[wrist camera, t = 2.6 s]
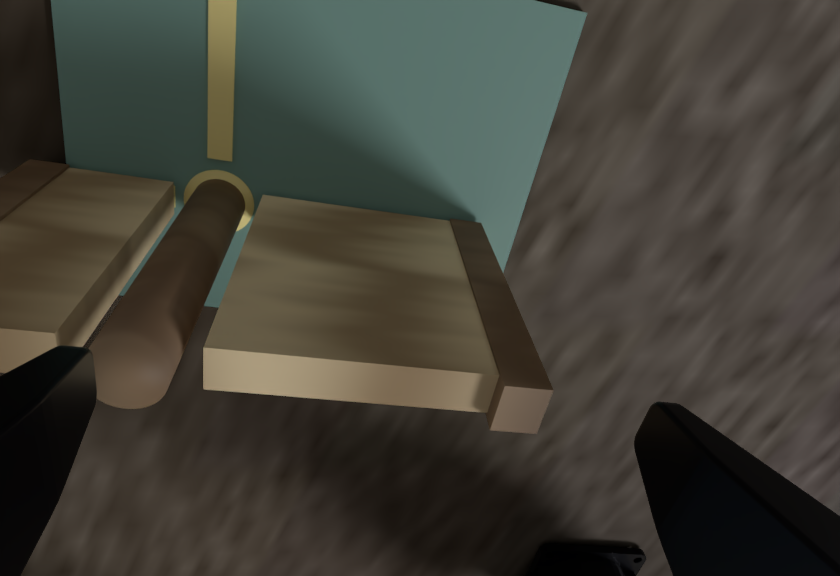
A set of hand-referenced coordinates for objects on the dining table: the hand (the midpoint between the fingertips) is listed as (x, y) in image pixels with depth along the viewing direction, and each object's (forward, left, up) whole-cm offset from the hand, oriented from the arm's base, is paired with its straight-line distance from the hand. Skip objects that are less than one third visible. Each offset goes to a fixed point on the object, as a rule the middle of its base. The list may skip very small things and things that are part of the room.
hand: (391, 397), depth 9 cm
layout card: (+2, +1, -13) cm, 13 cm away
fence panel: (0, +3, -12) cm, 13 cm away
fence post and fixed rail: (+8, +3, -13) cm, 15 cm away
